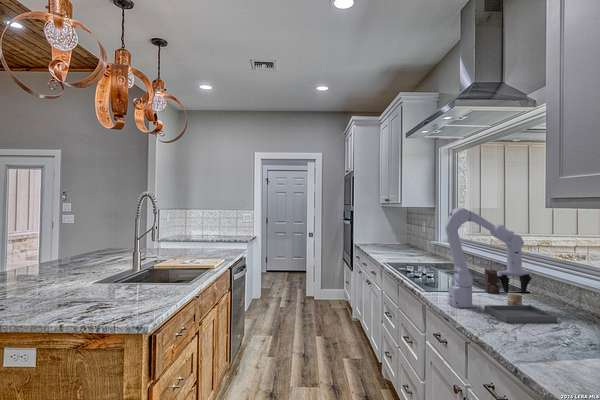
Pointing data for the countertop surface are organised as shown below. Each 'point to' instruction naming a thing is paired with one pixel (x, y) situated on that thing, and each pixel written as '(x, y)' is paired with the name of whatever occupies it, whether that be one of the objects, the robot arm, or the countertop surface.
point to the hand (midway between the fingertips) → (514, 292)
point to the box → (491, 281)
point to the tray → (520, 314)
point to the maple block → (514, 299)
